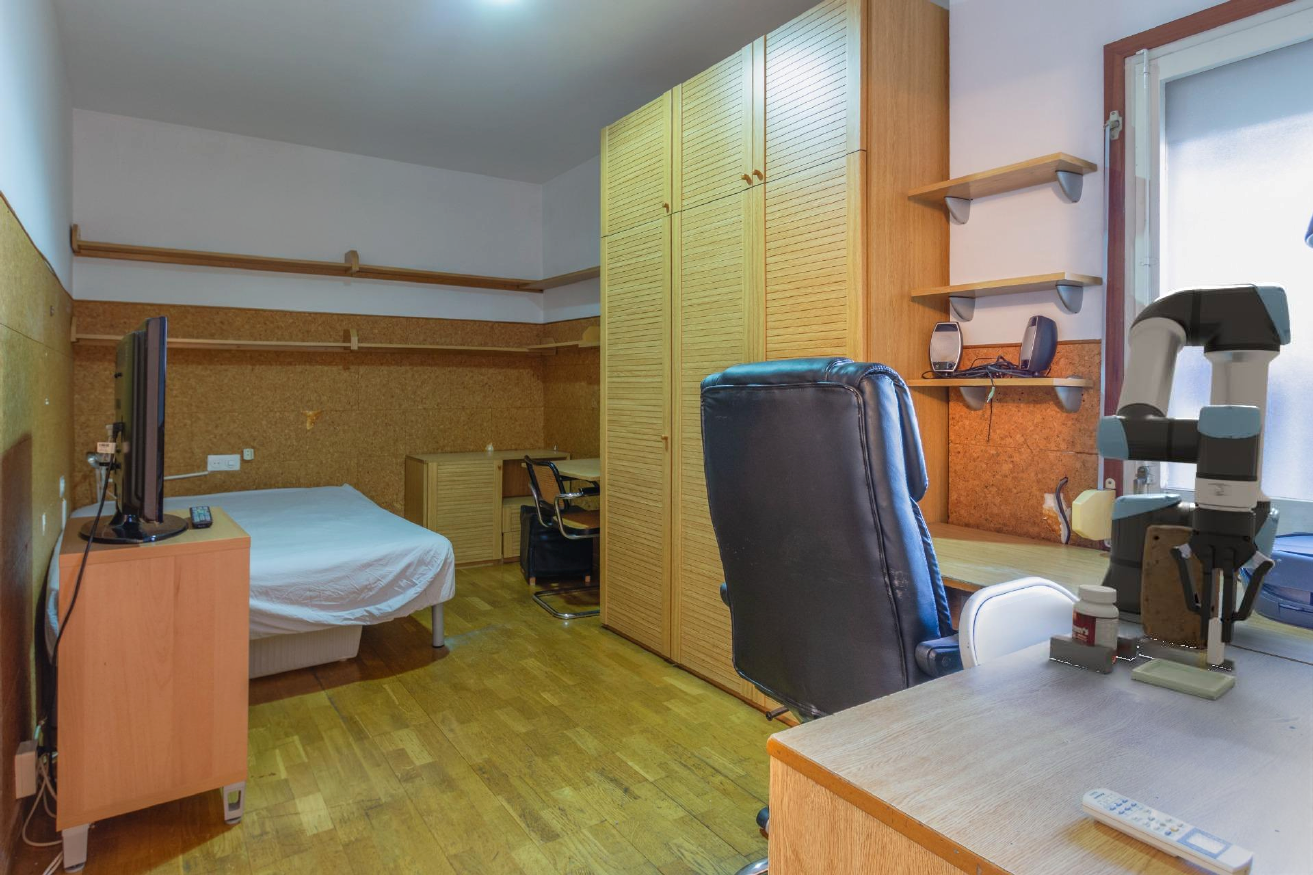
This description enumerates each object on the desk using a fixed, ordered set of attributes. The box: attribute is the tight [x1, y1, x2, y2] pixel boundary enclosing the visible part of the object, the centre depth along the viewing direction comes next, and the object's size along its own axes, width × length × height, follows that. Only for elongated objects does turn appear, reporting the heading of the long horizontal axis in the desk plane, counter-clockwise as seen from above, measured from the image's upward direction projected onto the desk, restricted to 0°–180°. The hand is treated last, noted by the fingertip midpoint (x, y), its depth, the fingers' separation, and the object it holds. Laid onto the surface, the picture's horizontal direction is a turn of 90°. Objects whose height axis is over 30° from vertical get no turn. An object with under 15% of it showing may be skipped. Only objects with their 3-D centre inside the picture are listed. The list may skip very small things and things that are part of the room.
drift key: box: [1137, 637, 1213, 670], centre depth 117 cm, size 3×9×3 cm, turn 40°
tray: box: [1131, 658, 1236, 701], centre depth 108 cm, size 10×10×1 cm
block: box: [1140, 525, 1221, 649], centre depth 128 cm, size 11×8×20 cm
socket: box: [1049, 632, 1138, 674], centre depth 118 cm, size 12×8×4 cm, turn 130°
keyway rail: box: [1137, 637, 1236, 671], centre depth 120 cm, size 1×15×2 cm, turn 39°
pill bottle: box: [1071, 584, 1120, 664], centre depth 118 cm, size 6×6×11 cm
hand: (1215, 661), depth 113 cm, fingers closed
